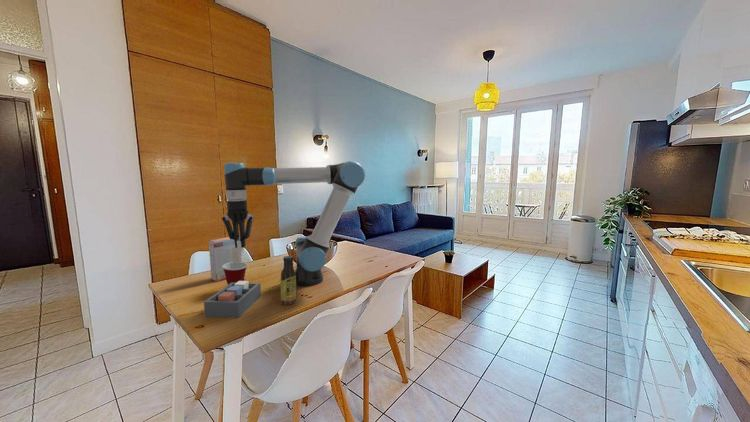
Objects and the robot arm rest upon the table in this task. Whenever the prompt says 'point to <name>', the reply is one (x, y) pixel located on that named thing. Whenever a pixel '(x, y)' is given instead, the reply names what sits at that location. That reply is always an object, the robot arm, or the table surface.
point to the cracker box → (222, 256)
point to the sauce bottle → (288, 282)
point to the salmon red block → (227, 296)
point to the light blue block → (235, 289)
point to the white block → (242, 284)
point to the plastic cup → (234, 271)
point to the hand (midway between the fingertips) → (241, 254)
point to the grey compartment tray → (232, 302)
